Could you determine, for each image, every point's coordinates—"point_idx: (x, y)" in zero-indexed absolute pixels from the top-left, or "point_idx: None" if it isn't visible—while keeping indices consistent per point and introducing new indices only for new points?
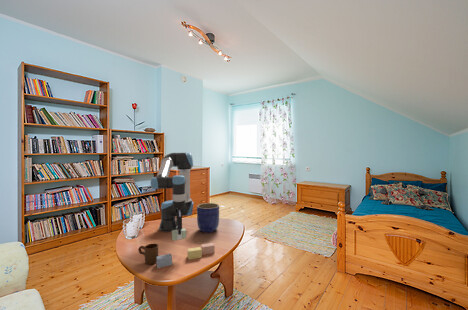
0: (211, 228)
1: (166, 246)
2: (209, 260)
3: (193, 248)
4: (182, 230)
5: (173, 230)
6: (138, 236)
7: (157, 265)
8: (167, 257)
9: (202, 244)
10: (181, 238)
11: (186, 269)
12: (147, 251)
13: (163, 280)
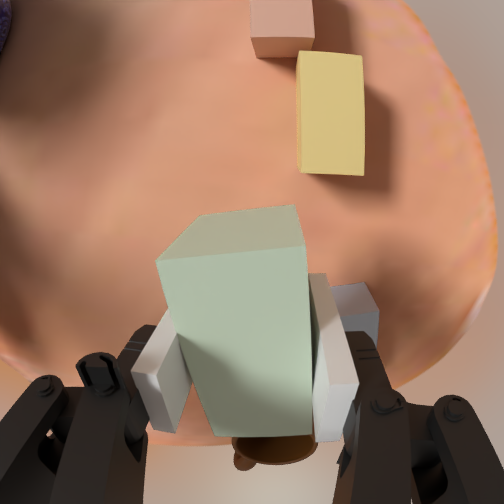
0: (1, 8)
1: (103, 292)
2: (403, 42)
3: (315, 117)
4: (280, 319)
5: (225, 425)
6: (24, 376)
7: None
8: (376, 336)
9: (251, 25)
10: (325, 281)
11: (452, 208)
12: (308, 445)
13: (469, 321)
